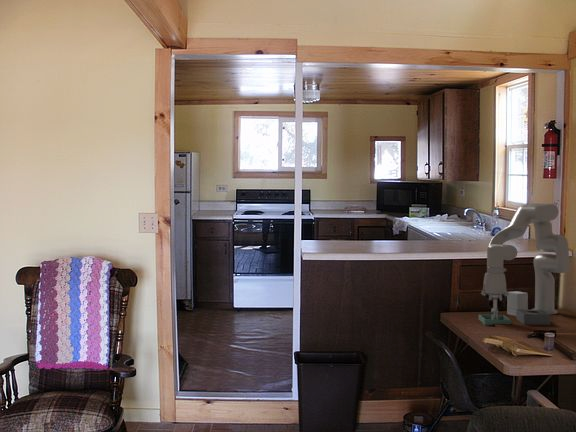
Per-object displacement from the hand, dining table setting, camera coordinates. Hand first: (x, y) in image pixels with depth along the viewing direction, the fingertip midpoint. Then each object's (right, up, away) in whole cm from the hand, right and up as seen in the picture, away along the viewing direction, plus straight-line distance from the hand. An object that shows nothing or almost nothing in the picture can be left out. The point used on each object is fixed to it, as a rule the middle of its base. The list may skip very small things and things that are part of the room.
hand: (494, 307), depth 271 cm
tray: (0, -8, 0) cm, 8 cm away
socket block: (+18, -8, -2) cm, 20 cm away
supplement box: (+18, -7, +16) cm, 25 cm away
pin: (0, -6, 0) cm, 6 cm away
